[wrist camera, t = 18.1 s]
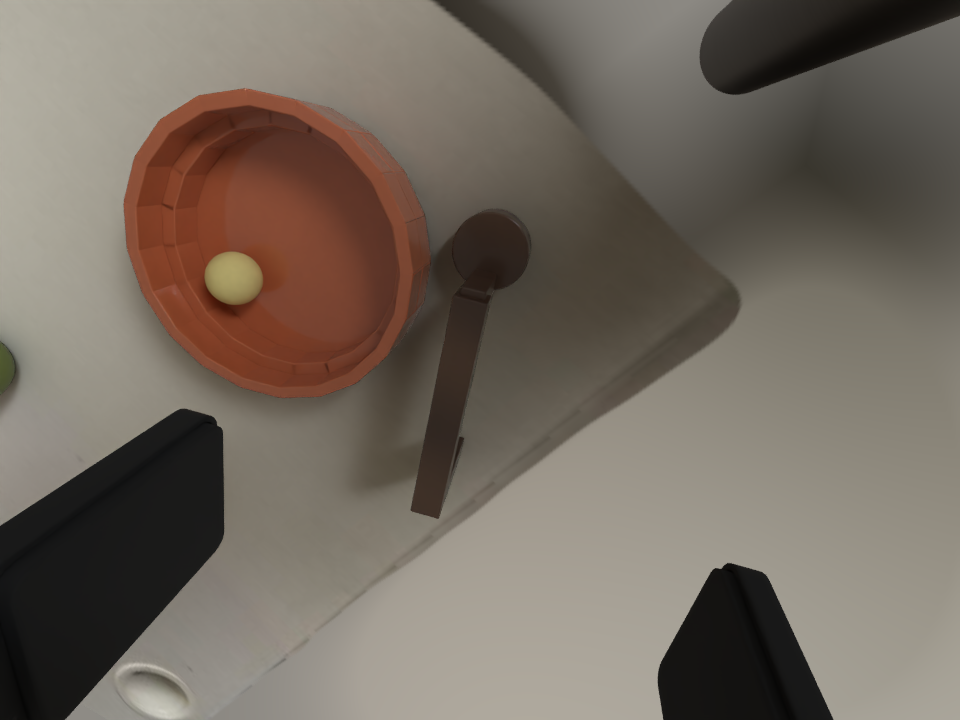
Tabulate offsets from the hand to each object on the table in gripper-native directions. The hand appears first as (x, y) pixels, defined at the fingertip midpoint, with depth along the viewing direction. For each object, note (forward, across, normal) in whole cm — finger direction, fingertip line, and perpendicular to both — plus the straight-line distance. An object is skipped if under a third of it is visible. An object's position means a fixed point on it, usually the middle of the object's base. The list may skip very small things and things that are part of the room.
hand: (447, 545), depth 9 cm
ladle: (+20, +2, +4) cm, 21 cm away
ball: (+18, +16, +3) cm, 25 cm away
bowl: (+20, +13, +1) cm, 24 cm away
